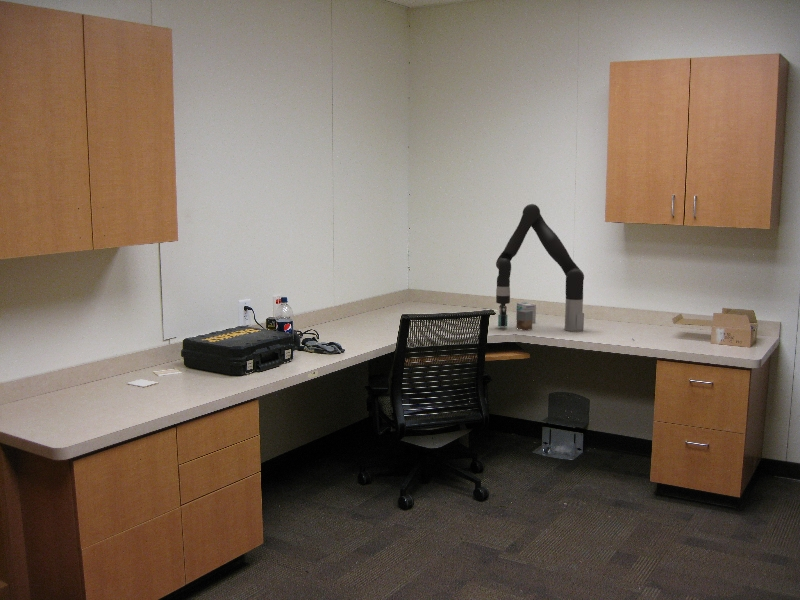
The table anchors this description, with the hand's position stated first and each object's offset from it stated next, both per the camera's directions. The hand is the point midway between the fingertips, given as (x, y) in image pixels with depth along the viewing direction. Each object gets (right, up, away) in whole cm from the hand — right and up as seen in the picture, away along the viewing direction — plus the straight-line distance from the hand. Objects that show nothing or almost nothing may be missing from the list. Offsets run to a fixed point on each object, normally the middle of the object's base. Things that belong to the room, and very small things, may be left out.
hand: (502, 324), depth 443 cm
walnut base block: (+12, -2, -1) cm, 12 cm away
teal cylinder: (0, -1, 0) cm, 0 cm away
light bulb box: (+16, +1, +20) cm, 25 cm away
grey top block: (+12, +3, -2) cm, 12 cm away
